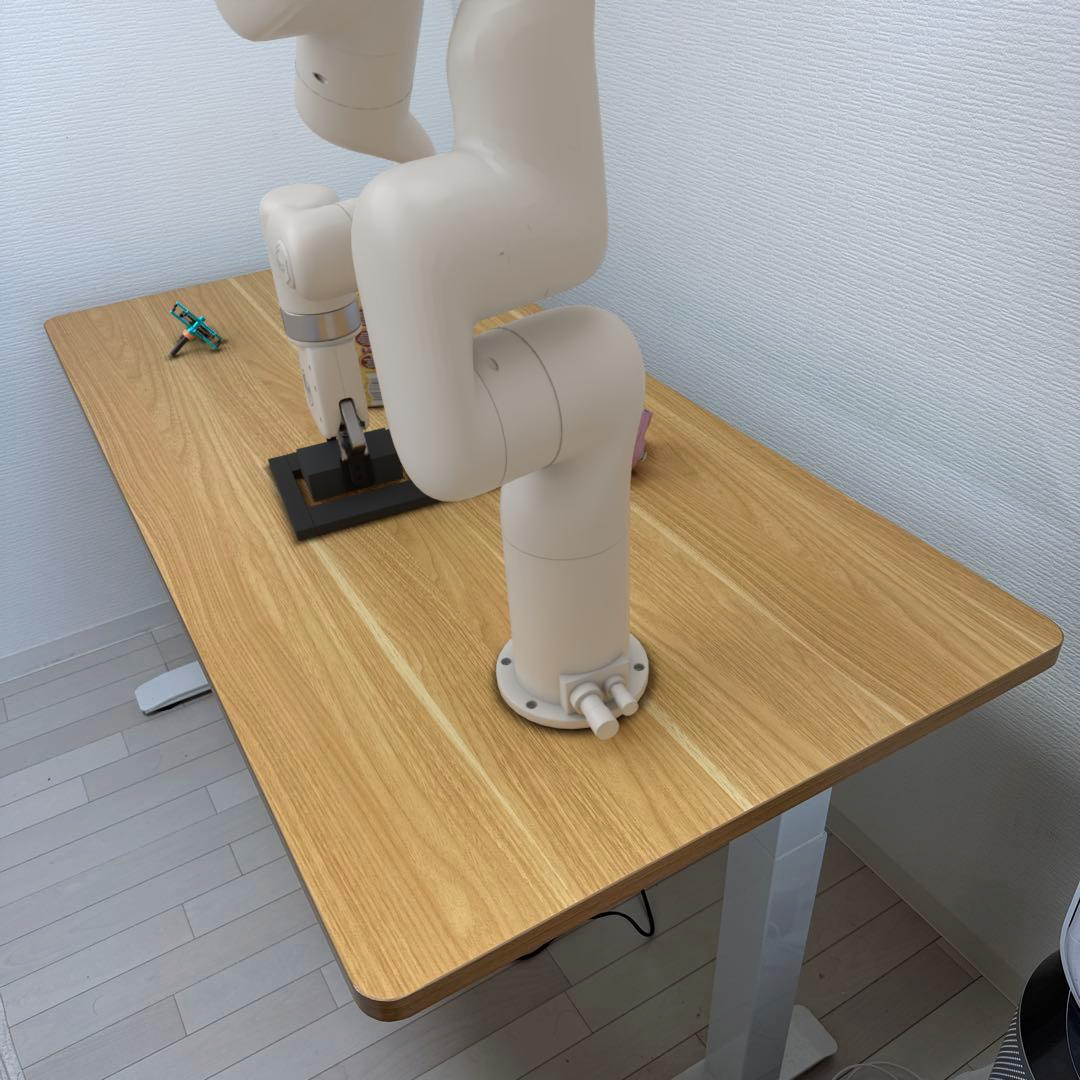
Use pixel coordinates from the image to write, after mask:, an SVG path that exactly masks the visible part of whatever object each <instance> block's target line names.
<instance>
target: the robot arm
mask: <svg viewBox="0 0 1080 1080" xmlns="http://www.w3.org/2000/svg"><path fill="white" fill-rule="evenodd" d="M214 3H215V6H216V8H217V10H218V12H219V13H220V16H221V17H222V19H223V20H224V22H225V23H226V24H227V26H228V27H229V28H230V29H231V30H232V31H233V32H234V33H235V34H236V35H238V36H239V37H241V38H242V39H245V40H247V41H250V42H253V43H255V42H256V43H259V42H261V43H262V42H269V41H270V42H271V41H277V40H282V39H288V38H295V61H294V88H293V94H294V95H293V96H294V103H295V104H294V105H295V108H296V111H297V114H298V116H299V117H300V119H301V120H302V122H303V123H304V124H305V125H306V126H307V128H308V129H309V130H310V131H311V132H313V133H314V134H315V135H317V137H319V138H320V139H323V140H324V141H326V142H328V143H329V144H331V145H333V146H336V147H340V148H343V149H345V150H348V151H351V152H354V153H358V154H363V155H367V156H370V157H371V156H372V157H375V158H378V159H383V160H386V161H390V162H393V166H391V167H390V168H388V169H385V170H384V171H381V172H379V173H378V174H377V175H374V177H373V178H371V180H370V181H368V182H367V183H366V185H365V186H364V187H363V189H362V191H361V192H360V193H359V196H357V197H353V198H349V199H344V200H340V197H339V196H338V195H337V193H336V191H335V190H334V189H333V188H331V187H329V186H328V185H324V184H319V183H311V182H305V183H293V184H288V185H282V186H280V187H279V186H278V187H277V188H274V189H272V190H270V191H268V192H267V193H265V194H264V195H263V197H261V199H260V202H259V204H258V215H259V222H260V225H261V230H262V235H263V239H264V243H265V248H266V252H267V256H268V261H269V265H270V270H271V275H272V277H273V283H274V287H275V292H276V297H277V300H278V305H279V311H280V315H281V321H282V324H283V328H284V332H285V338H286V340H287V341H288V342H289V343H291V344H293V345H295V346H296V351H297V357H298V362H299V367H300V373H301V378H302V383H303V389H304V395H305V400H306V404H307V407H308V410H309V412H310V414H311V416H312V418H313V420H314V423H315V425H316V426H317V428H318V430H319V432H320V434H321V435H322V437H324V438H325V440H326V442H328V441H332V440H336V439H337V442H338V446H339V450H340V454H341V457H340V458H339V463H340V467H341V472H342V477H343V482H344V487H345V489H346V491H353V490H357V489H361V488H364V487H368V486H372V485H374V483H375V480H374V474H373V469H372V464H371V458H370V453H369V451H368V448H367V444H366V440H365V436H364V431H366V430H367V429H368V428H369V427H370V416H369V415H370V414H369V408H368V407H367V402H366V396H365V391H364V385H363V380H362V375H361V370H360V365H359V361H358V356H357V351H356V345H355V338H354V337H355V336H357V335H358V334H359V333H360V332H361V330H362V322H361V316H360V311H359V305H358V299H357V294H356V291H358V290H359V295H360V300H361V304H362V309H363V313H364V318H365V322H366V327H367V331H368V336H369V341H370V345H371V350H372V354H373V359H374V363H375V368H376V372H377V377H378V382H379V386H380V391H381V395H382V400H383V404H384V406H383V408H384V413H385V417H386V420H387V425H388V429H389V430H390V433H391V436H392V440H393V443H394V446H395V449H396V451H397V454H398V456H399V459H400V461H401V463H402V468H403V470H404V471H405V473H406V474H407V476H408V478H409V480H412V481H413V483H414V484H415V485H416V486H417V487H418V488H419V489H420V490H421V491H422V492H423V493H425V494H426V495H428V496H430V497H432V498H434V499H437V500H441V502H447V503H448V502H449V503H450V502H451V503H452V502H461V501H465V500H469V499H472V498H476V497H478V496H481V495H483V494H486V493H488V492H491V491H493V490H496V489H499V488H500V495H499V520H500V521H499V522H500V531H501V542H502V551H503V561H504V572H505V580H506V581H505V583H506V592H507V601H508V602H507V605H508V611H509V612H508V613H509V622H510V623H509V624H510V632H511V633H510V634H511V637H510V639H509V640H508V641H507V642H506V643H505V644H504V645H503V647H502V649H501V650H500V652H499V655H498V657H497V660H496V666H495V667H496V670H495V671H496V672H495V673H496V674H495V675H496V683H497V687H498V690H499V693H500V695H501V697H502V698H503V700H504V701H505V703H506V704H507V705H508V706H509V708H511V709H512V710H513V711H514V712H515V713H516V714H518V715H519V716H521V717H523V718H524V719H526V720H528V721H530V722H532V723H536V724H538V725H541V726H545V727H549V728H554V729H564V730H565V729H566V730H567V729H568V730H577V729H586V728H587V729H589V728H590V729H591V730H592V732H593V733H594V735H595V737H596V738H597V739H598V740H601V741H606V740H610V739H611V738H613V737H614V736H615V735H617V733H618V732H619V729H620V724H619V721H618V720H617V719H618V718H619V717H621V716H623V715H624V716H625V717H628V716H633V715H634V714H635V713H636V712H638V709H639V703H638V702H639V701H640V699H641V698H642V697H643V695H644V693H645V692H646V688H647V685H648V684H649V683H648V681H649V675H650V674H649V673H650V671H649V659H648V655H647V653H646V652H647V651H646V650H645V648H644V647H643V645H642V643H641V642H640V640H638V639H637V637H636V636H634V635H633V633H631V602H630V601H631V594H630V593H631V591H630V590H631V579H630V578H631V577H630V576H631V572H630V571H631V565H630V564H631V562H630V561H631V560H630V559H631V558H630V557H631V555H630V553H631V551H630V550H631V549H630V548H631V544H630V543H631V540H630V539H631V538H630V537H631V535H630V533H631V531H630V529H631V527H630V526H631V480H632V469H633V468H632V459H633V452H634V447H635V441H636V437H637V433H638V428H639V424H640V420H641V415H642V410H643V409H644V406H645V404H644V403H645V397H646V384H647V383H646V369H645V362H644V357H643V354H642V351H641V348H640V345H639V343H638V341H637V339H636V336H635V335H634V334H633V332H632V330H631V329H630V328H629V327H628V326H627V325H626V323H625V322H624V321H623V320H622V319H620V318H619V317H618V316H617V315H616V314H613V313H611V312H610V311H608V310H607V309H603V308H601V307H597V306H595V305H586V304H572V305H571V304H569V305H564V306H557V307H552V308H548V309H546V310H545V309H544V310H542V311H538V312H536V313H533V314H530V315H527V316H524V317H522V318H518V319H516V320H512V321H510V322H506V323H504V324H501V325H498V326H495V327H492V328H490V329H489V330H485V331H483V332H480V333H477V334H475V335H474V330H475V327H476V325H477V324H478V323H480V322H482V321H485V320H487V319H490V318H493V317H497V316H500V315H502V314H505V313H509V312H511V311H514V310H517V309H520V308H523V307H525V306H529V305H531V304H532V305H533V304H534V303H537V302H540V301H543V300H545V299H548V298H551V297H554V296H557V295H560V294H562V293H565V292H567V291H569V290H571V289H574V288H576V287H578V286H580V285H581V284H584V283H585V282H587V280H590V279H591V278H592V277H593V276H594V275H595V274H596V273H597V272H598V271H599V269H600V268H601V266H602V265H603V263H604V262H605V259H606V256H607V250H608V247H609V246H608V245H609V205H608V192H607V178H606V165H605V155H604V141H603V128H602V116H601V104H600V103H601V102H600V92H599V91H600V89H599V82H598V81H599V80H598V74H597V73H598V72H597V64H596V47H595V46H596V45H595V44H596V43H595V19H596V0H461V1H460V3H459V7H458V8H457V11H456V14H455V17H454V21H453V24H452V28H451V30H450V34H449V38H448V43H447V48H446V58H445V69H446V70H445V71H446V79H447V89H448V92H449V98H450V104H451V109H452V111H451V112H452V119H453V130H454V137H453V138H454V139H453V144H452V146H451V148H450V149H451V150H450V151H448V152H442V153H440V154H439V153H438V152H437V150H436V147H435V145H434V143H433V141H432V139H431V137H430V135H429V134H428V132H427V131H426V130H425V128H424V126H422V123H420V122H419V120H418V119H417V118H416V117H415V116H414V114H413V113H412V112H411V111H410V105H411V99H412V93H413V86H414V78H415V72H416V64H417V57H418V50H419V42H420V35H421V27H422V22H423V21H422V20H423V14H424V7H425V0H214ZM344 437H349V443H347V444H346V447H345V444H344V440H343V438H344ZM631 468H632V469H631Z"/></svg>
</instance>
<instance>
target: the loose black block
mask: <svg viewBox="0 0 1080 1080" xmlns="http://www.w3.org/2000/svg"><path fill="white" fill-rule="evenodd" d="M363 432H364V431H363ZM364 436H365V440H366V444H367V448H368V451H369V453H370V458H371V464H372V469H373V474H374V480H375V483H374V485H372V486H368V487H364V488H361V489H357V490H353V491H346V489H345V487H344V482H343V477H342V472H341V467H340V463H339V458H340V457H341V454H340V450H339V446H338V442H337V439H336V440H332V441H328V442H327V441H324V442H319V443H315V444H312V445H308V446H303V447H300V448H297V449H296V450H295V452H297V455H298V459H299V463H300V467H301V472H302V476H303V478H302V479H303V480H304V482H305V484H306V487H307V490H308V492H309V494H310V496H311V499H312V501H313V503H317V502H321V501H324V500H329V499H331V498H335V497H339V496H343V495H346V494H347V495H348V494H351V493H354V492H358V491H362V490H366V489H370V488H373V487H377V486H381V485H385V484H389V483H393V482H396V481H399V480H400V481H401V480H404V479H405V476H404V468H403V465H402V463H401V461H400V459H399V456H398V454H397V451H396V449H395V446H394V443H393V440H392V439H391V437H390V435H389V434H388V432H387V429H386V427H385V426H383V427H381V428H377V429H372V430H369V431H365V432H364ZM343 440H344V444H345V447H346V444H347V443H349V437H344V438H343Z"/></svg>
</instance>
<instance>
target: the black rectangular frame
mask: <svg viewBox="0 0 1080 1080" xmlns="http://www.w3.org/2000/svg"><path fill="white" fill-rule="evenodd" d="M386 430H387V432H388V434H389V435H390V437H391V439H392V436H391V433H390V430H389V428H387V429H386ZM267 461H268V466H269V469H270V471H271V474H272V477H273V479H274V482H275V484H276V487H277V489H278V493H279V495H280V497H281V500H282V503H283V505H284V509H285V511H286V513H287V517H288V519H289V521H290V524H291V526H292V529H293V532H294V535H295V537H296V539H297V541H302V540H306V539H311V538H313V537H317V536H321V535H325V534H328V533H332V532H335V531H338V530H339V531H340V530H342V529H346V528H350V527H354V526H357V525H361V524H365V523H368V522H372V521H375V520H379V519H384V518H386V517H387V518H388V517H390V516H393V515H398V514H401V513H404V512H409V511H413V510H415V509H419V508H423V507H426V506H431V505H435V504H438V503H441V502H442V501H441V500H437V499H434V498H432V497H430V496H428V495H426V494H425V493H423V492H422V491H421V490H420V489H419V488H418V487H417V486H416V485H415V484H414V483H413V481H412V480H411V479H408V480H404V481H400V482H396V483H391V484H389V485H385V486H381V487H378V488H374V489H370V490H366V491H363V492H359V493H355V494H352V495H348V496H343V497H339V498H335V499H332V500H328V501H325V502H321V503H316V504H313V505H309V506H307V504H306V501H305V499H304V497H303V494H302V492H301V489H300V487H299V485H298V482H297V480H298V479H304V478H303V476H302V472H301V467H300V463H299V459H298V455H297V451H295V452H290V453H286V454H283V455H279V456H275V457H270V458H268V459H267Z"/></svg>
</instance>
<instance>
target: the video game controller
mask: <svg viewBox="0 0 1080 1080" xmlns="http://www.w3.org/2000/svg"><path fill="white" fill-rule="evenodd" d="M652 418H653V412H651V411H650V410H648V409H646V408H643V410H642V415H641V420H640V424H639V428H638V433H637V437H636V441H635V447H634V452H633V459H632V468H631V470H632V469H634V467H635V466H636V465H637V463H638V462H640V463H643V462H644V461H645V460H646V458H647V457H648V456H647V453H648V452H647V451H645V452H644V450H645V447H646V443H647V440H646V439H645V436H646V433H647V430H648V428H649V426H650V423H651V420H652Z"/></svg>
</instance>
